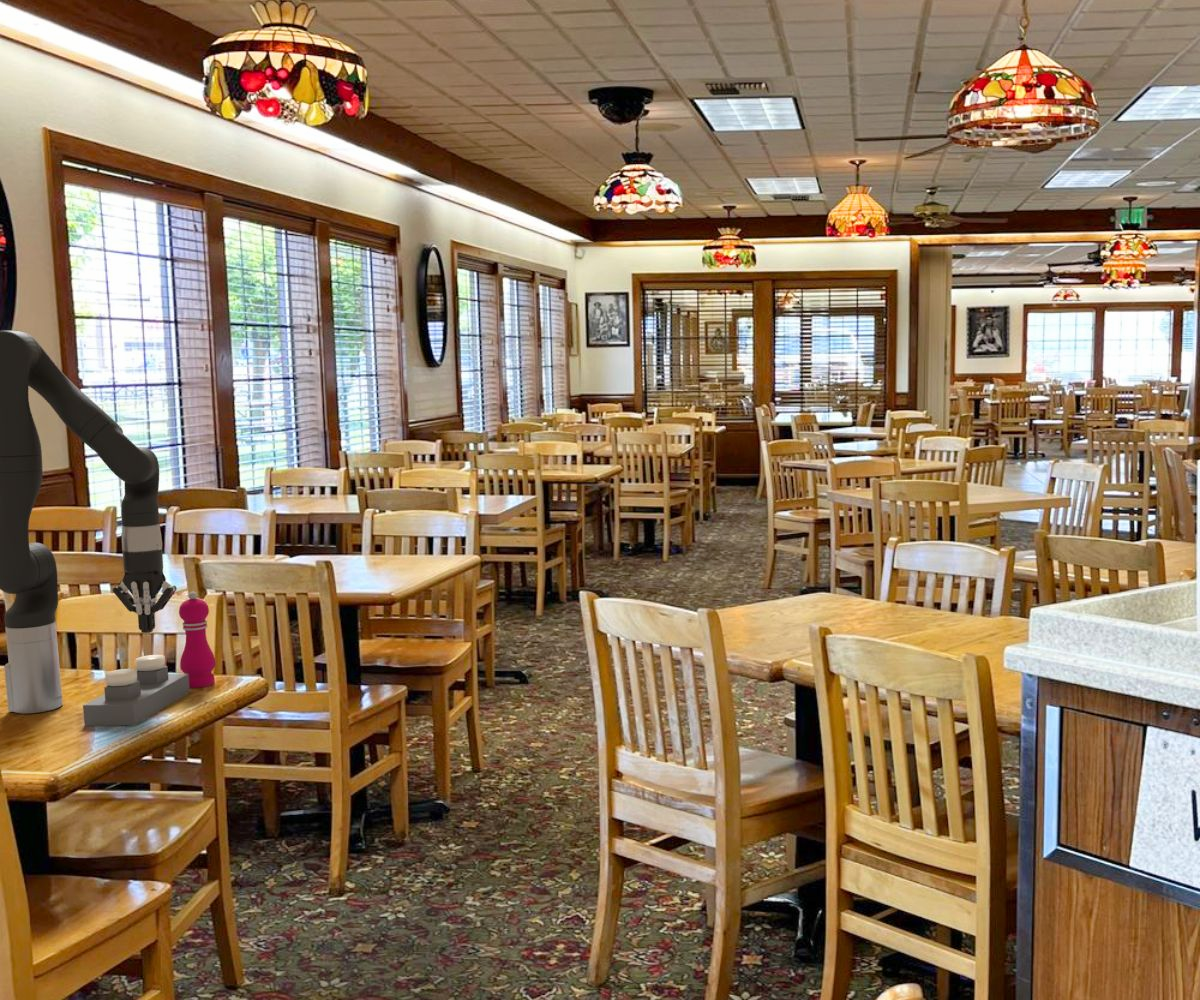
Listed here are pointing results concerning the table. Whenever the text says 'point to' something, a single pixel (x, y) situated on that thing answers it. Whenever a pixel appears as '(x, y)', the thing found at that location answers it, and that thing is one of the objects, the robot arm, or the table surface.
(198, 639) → the pepper mill
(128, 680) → the knob
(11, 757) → the table surface
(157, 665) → the knob
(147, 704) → the mount bar
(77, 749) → the table surface
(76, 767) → the table surface
